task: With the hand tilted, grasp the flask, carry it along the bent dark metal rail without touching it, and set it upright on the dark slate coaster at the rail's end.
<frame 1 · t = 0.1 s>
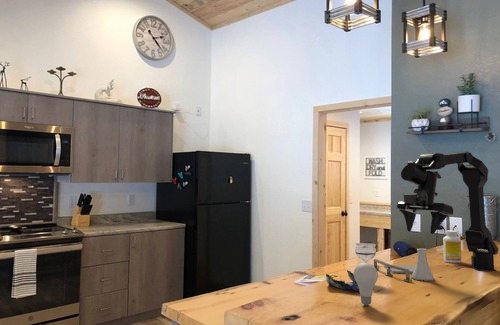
hand: (420, 232, 133), 15 cm above the table, tool pointing down, fingers open, 9 cm apart
flask: (422, 279, 132), on the table
lightbulb: (366, 306, 101), on the table
snack package: (348, 290, 119), on the table
slate coaster: (403, 270, 146), on the table
supplement bottle: (452, 262, 163), on the table
bent rail: (389, 274, 138), on the table
wineglass: (366, 281, 128), on the table
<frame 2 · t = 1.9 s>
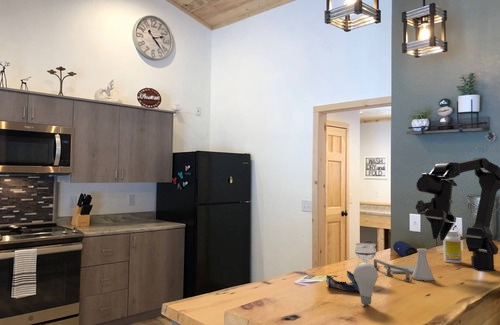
hand: (438, 239, 140), 12 cm above the table, tool pointing down, fingers open, 9 cm apart
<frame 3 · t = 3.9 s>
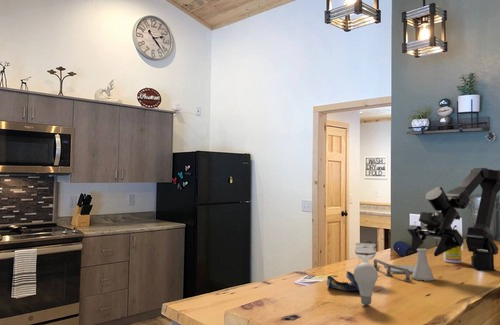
hand: (422, 253, 133), 8 cm above the table, tool tilted 45°, fingers open, 9 cm apart
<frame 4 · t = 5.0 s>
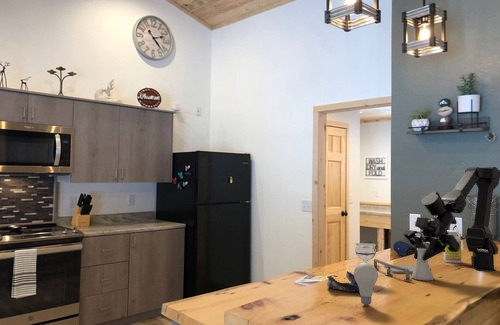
hand: (419, 259, 132), 7 cm above the table, tool tilted 45°, fingers closed on flask, 3 cm apart
flask: (422, 279, 132), on the table, touching gripper
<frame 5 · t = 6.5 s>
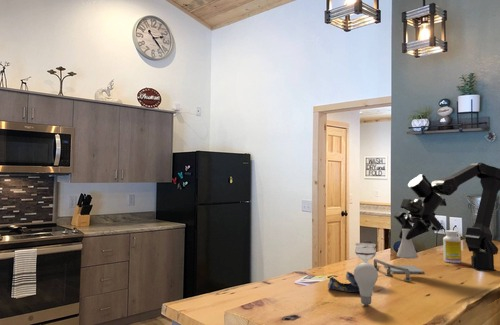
hand: (403, 238, 139), 13 cm above the table, tool tilted 45°, fingers closed on flask, 3 cm apart
flask: (407, 258, 138), point 6 cm above the table, touching gripper
when the fingers open (8 cm above the table, at t = 8.2 s): flask stays where it is, resting on slate coaster.
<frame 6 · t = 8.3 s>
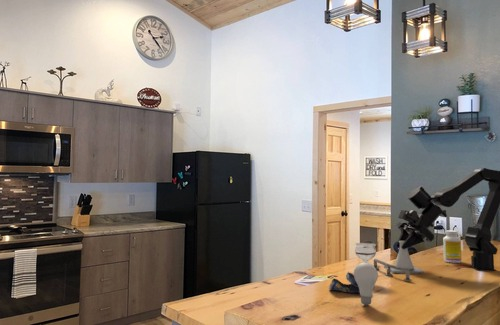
hand: (399, 247, 146), 8 cm above the table, tool tilted 45°, fingers open, 4 cm apart
flask: (404, 268, 146), point 1 cm above the table, touching slate coaster
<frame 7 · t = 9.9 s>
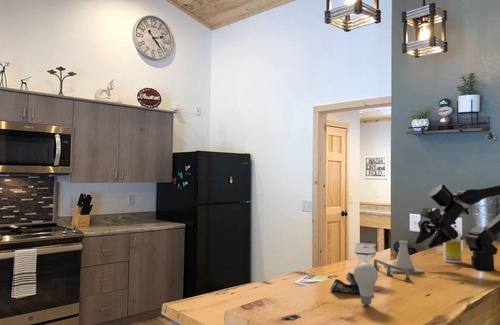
hand: (422, 245, 147), 9 cm above the table, tool tilted 45°, fingers open, 9 cm apart
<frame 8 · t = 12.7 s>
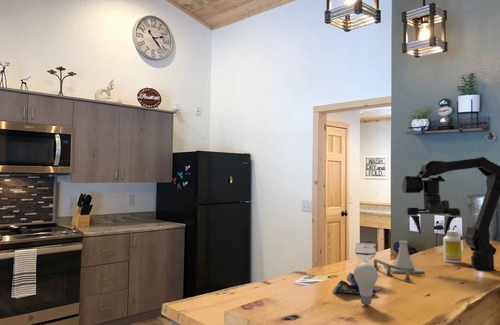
hand: (432, 234, 151), 13 cm above the table, tool pointing down, fingers open, 9 cm apart
at the end: flask 0.2 cm from the slate coaster (horizontally); flask tilted 0°; flask touching slate coaster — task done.
